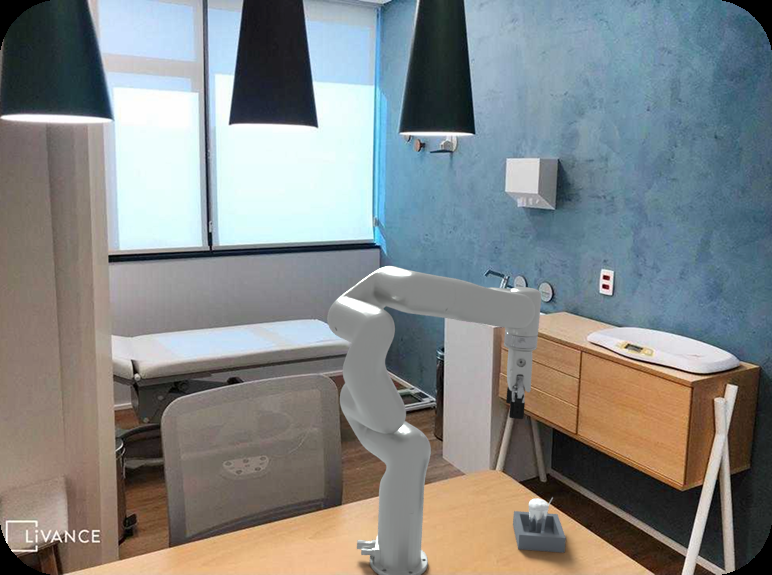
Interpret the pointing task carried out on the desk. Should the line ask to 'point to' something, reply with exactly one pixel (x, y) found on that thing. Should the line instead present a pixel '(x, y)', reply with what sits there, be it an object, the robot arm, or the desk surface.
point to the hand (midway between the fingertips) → (514, 410)
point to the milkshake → (538, 515)
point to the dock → (539, 534)
